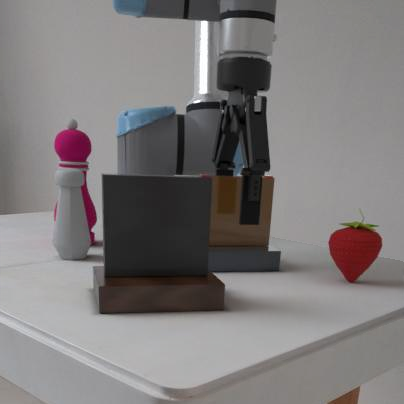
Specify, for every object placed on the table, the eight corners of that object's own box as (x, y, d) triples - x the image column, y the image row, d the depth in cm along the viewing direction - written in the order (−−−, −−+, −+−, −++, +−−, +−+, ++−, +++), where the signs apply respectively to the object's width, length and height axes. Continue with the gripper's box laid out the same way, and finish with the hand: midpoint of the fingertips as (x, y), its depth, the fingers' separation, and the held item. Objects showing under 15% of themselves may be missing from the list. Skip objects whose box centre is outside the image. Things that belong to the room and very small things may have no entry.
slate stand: (201, 271, 82) (202, 251, 81) (187, 257, 91) (187, 239, 90) (279, 271, 84) (281, 251, 83) (257, 257, 93) (259, 239, 92)
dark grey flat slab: (105, 276, 64) (102, 172, 59) (103, 272, 65) (101, 171, 61) (208, 275, 66) (212, 175, 62) (203, 271, 68) (208, 174, 64)
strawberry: (317, 276, 82) (325, 206, 79) (366, 276, 83) (376, 207, 80) (332, 286, 77) (341, 211, 73) (383, 286, 78) (396, 212, 74)
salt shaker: (56, 261, 84) (52, 169, 79) (50, 254, 89) (45, 167, 84) (95, 260, 86) (93, 170, 81) (87, 252, 91) (84, 167, 86)
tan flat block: (199, 245, 84) (202, 173, 80) (196, 243, 86) (199, 172, 82) (268, 245, 87) (274, 176, 83) (264, 243, 89) (270, 175, 85)
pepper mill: (88, 248, 94) (84, 118, 87) (48, 244, 96) (40, 116, 88) (103, 241, 101) (101, 120, 94) (65, 238, 102) (60, 118, 95)
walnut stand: (99, 313, 61) (98, 286, 60) (93, 289, 70) (92, 265, 69) (223, 310, 64) (225, 284, 63) (203, 287, 73) (204, 264, 72)
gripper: (307, 50, 67) (289, 231, 75) (242, 70, 89) (234, 207, 97) (247, 44, 65) (235, 230, 73) (196, 66, 87) (191, 207, 95)
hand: (234, 217), depth 85 cm, fingers open, 13 cm apart
